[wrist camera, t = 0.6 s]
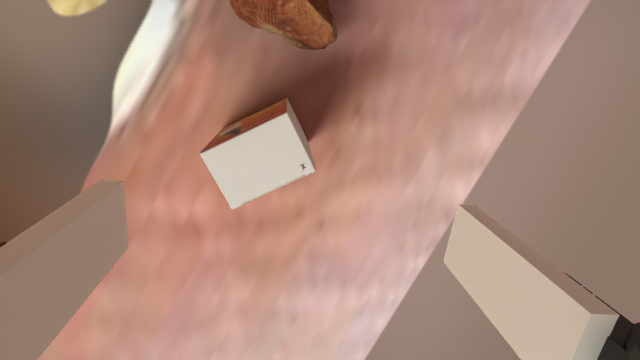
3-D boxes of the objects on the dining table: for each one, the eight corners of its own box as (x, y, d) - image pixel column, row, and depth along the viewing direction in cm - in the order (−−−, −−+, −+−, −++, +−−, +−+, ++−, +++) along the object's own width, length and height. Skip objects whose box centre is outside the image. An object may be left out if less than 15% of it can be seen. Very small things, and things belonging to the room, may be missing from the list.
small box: (287, 96, 37) (289, 109, 27) (309, 143, 39) (318, 171, 29) (219, 128, 37) (196, 152, 27) (244, 173, 39) (231, 211, 29)
